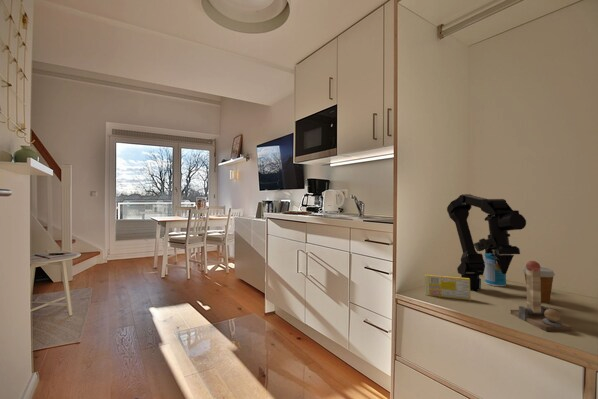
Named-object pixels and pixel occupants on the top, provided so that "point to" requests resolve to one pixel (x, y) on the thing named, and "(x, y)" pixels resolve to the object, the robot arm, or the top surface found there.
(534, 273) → the lever
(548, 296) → the disposable coffee cup
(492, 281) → the beverage bottle
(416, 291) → the top surface
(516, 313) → the base
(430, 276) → the candy box
